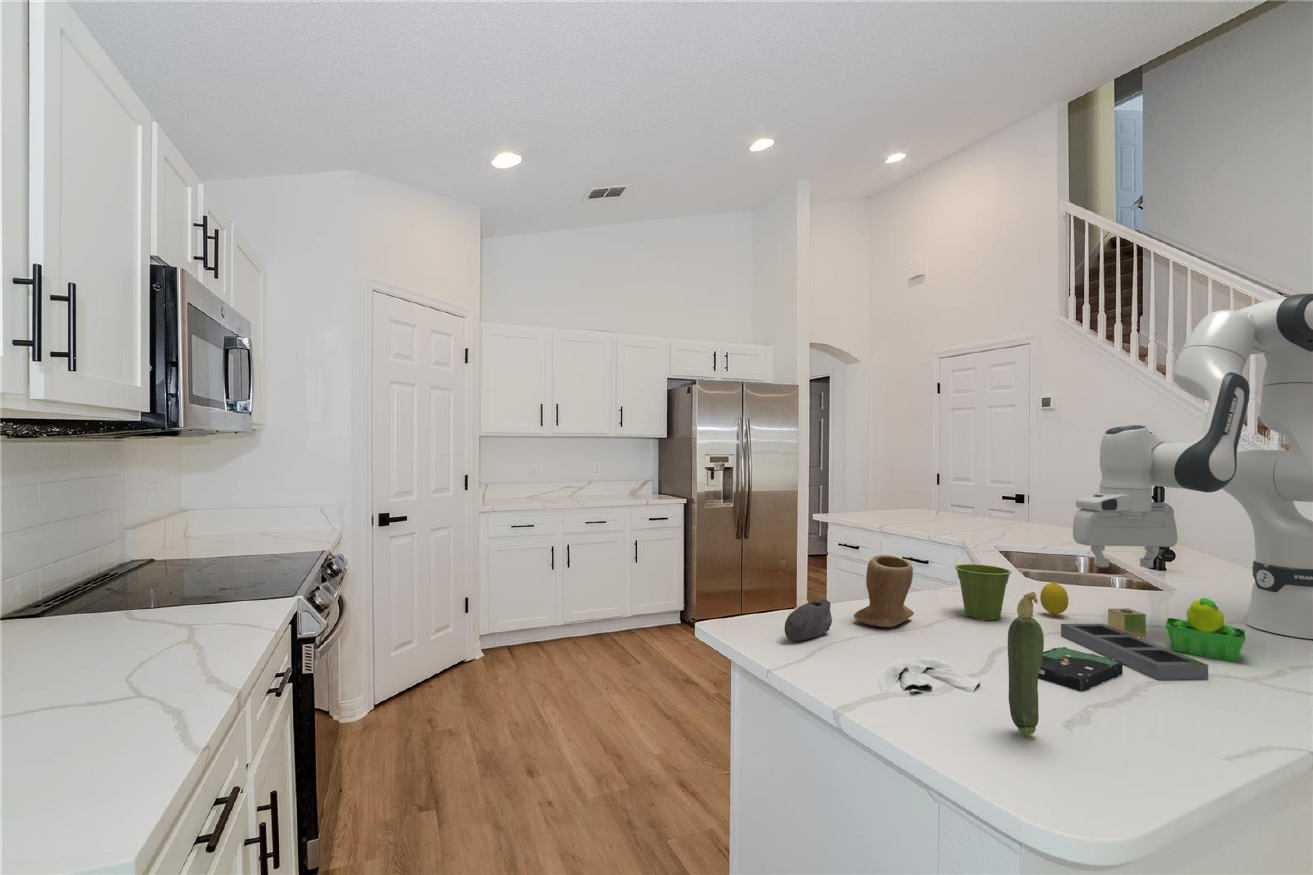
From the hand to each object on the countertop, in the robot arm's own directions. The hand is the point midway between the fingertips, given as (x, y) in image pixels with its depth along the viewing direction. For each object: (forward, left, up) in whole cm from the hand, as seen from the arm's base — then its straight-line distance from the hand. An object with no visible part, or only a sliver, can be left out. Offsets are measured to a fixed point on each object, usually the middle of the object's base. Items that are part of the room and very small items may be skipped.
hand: (1124, 567), depth 130 cm
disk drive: (+27, +21, -15) cm, 37 cm away
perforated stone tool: (+68, 0, -15) cm, 69 cm away
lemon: (+6, -14, -15) cm, 21 cm away
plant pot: (+23, -14, -15) cm, 30 cm away
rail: (+10, +12, -14) cm, 21 cm away
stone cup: (+47, -10, -15) cm, 50 cm away
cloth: (+54, +24, -15) cm, 61 cm away
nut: (0, 0, -14) cm, 14 cm away
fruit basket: (-6, +12, -15) cm, 20 cm away
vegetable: (+49, +43, -15) cm, 67 cm away
